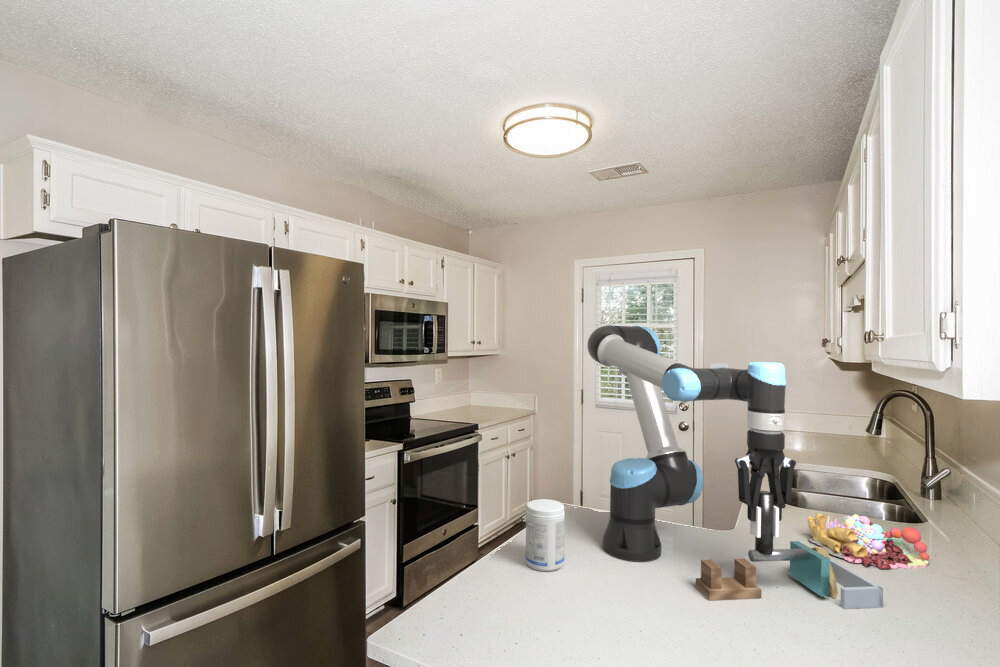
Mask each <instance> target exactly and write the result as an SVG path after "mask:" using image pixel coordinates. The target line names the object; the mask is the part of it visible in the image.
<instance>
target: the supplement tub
mask: <svg viewBox="0 0 1000 667" xmlns="http://www.w3.org/2000/svg"><path fill="white" fill-rule="evenodd" d="M525 511H526V512H525V561H526V562H525V563H526V565H528V566H529V567H530V568H531V569H533V570H536V571H540V572H553V571H557V570H559V569H561V568H563V566H564V564H565V534H566V533H565V528H566V527H565V519H566V518H565V517H566V516H565V514H566V512H565V505H564V504H563V503H562V502H561V501H558V500H554V499H545V498H542V499H540V498H539V499H534V500H531V501H529V502H527V503H526V510H525Z"/></svg>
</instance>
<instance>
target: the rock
mask: <svg viewBox="0 0 1000 667" xmlns="http://www.w3.org/2000/svg"><path fill="white" fill-rule="evenodd" d="M810 548H811V549H813V550H815V551H817V552H818V553H820V554H822V555H824V556H825V557H827V558H829V559H831V557H830V553H828V551H827V550H825V549H823V548H822V546H816V547H810ZM838 594H839V590H838V586H837V582H836V578H835V575H834V573H833V568H832V566H831V563H830V590H829V596H827V597H828V598H832V599H834V600H837V596H838Z"/></svg>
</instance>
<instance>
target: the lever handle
mask: <svg viewBox="0 0 1000 667" xmlns="http://www.w3.org/2000/svg"><path fill="white" fill-rule="evenodd" d="M758 507H760V508H761V538H757V537H756V536H754V549H750V550H748V552H747V553H748V554H747V555H748V559H749V560H750V561H751V562H752V563H754V562H755V563H756V562H783V561H784V562H786V561H787V562H789V576H790V577H792V578H793V579H794V580H796V581H798V582H799V583H800V584H802V585H803V586H805V587H806V588H808V589H809V590H810V591H813V592H814V593H816V594H817V595H818V596H820V597H828V596H829V590H830V559H831V558H830V559H829V558H827V557H825V556H824V555H822V554H820V553H818V552H817V551H815V550H813V549H811V548H812V547H809V546H808V545H806V544H805V543H802V542H801V541H799V540H791V541H789V548H782V549H781V548H777V549H776V548H775V549H774V536H773V520H774V494H773V493H771V492H770V491H768V490H760V496H759V501H758ZM750 561H749V562H750Z"/></svg>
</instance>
